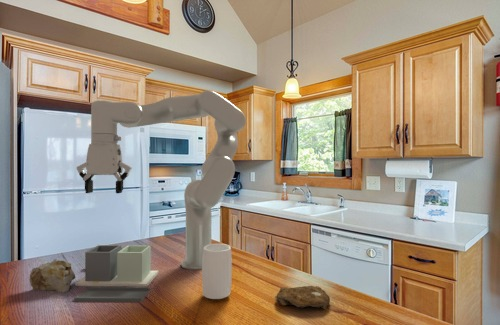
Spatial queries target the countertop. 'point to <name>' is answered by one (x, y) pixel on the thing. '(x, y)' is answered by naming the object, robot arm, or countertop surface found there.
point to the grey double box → (118, 266)
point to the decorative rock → (303, 297)
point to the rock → (52, 276)
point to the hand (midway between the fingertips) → (104, 192)
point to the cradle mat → (113, 294)
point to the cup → (216, 271)
